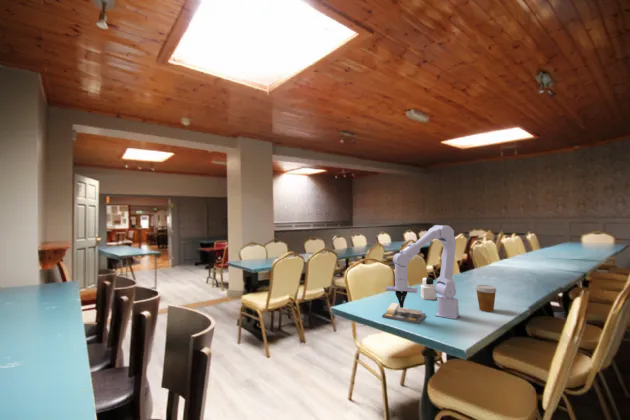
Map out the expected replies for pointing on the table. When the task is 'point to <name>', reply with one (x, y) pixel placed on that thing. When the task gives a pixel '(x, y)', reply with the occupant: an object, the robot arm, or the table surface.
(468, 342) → the table surface
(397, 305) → the rocker
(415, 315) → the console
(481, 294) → the disposable coffee cup
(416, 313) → the block
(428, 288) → the medicine bottle
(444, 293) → the robot arm
